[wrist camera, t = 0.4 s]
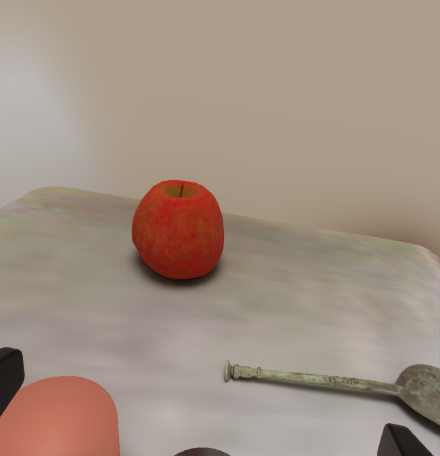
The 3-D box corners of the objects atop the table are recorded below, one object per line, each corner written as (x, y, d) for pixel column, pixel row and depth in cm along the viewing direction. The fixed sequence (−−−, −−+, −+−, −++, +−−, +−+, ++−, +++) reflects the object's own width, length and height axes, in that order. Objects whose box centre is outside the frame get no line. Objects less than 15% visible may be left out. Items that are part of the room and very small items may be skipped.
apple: (113, 263, 41) (109, 179, 36) (175, 232, 50) (178, 160, 45) (182, 304, 36) (187, 213, 31) (238, 262, 44) (249, 184, 39)
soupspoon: (508, 464, 26) (461, 391, 32) (532, 436, 25) (478, 364, 31) (219, 410, 27) (226, 348, 33) (225, 379, 25) (231, 319, 31)
